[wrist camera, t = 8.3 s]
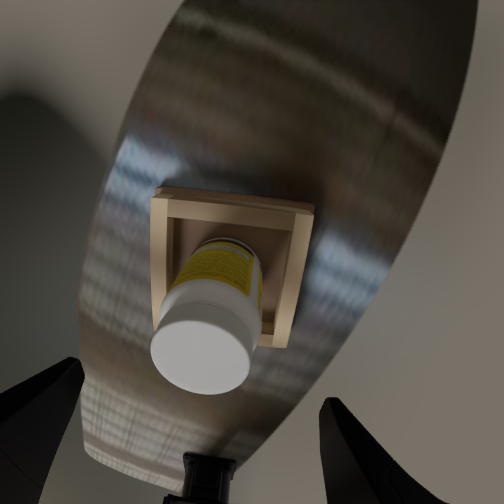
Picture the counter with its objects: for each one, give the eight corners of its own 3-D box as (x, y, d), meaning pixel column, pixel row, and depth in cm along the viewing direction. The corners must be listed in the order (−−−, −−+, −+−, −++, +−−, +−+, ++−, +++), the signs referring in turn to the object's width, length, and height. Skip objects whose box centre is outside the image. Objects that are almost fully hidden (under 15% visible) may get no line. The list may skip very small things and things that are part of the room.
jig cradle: (287, 332, 21) (289, 351, 19) (159, 315, 20) (150, 333, 18) (312, 203, 17) (320, 211, 15) (159, 186, 17) (146, 191, 15)
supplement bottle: (174, 256, 18) (117, 334, 10) (238, 221, 17) (216, 287, 9) (214, 314, 19) (187, 409, 11) (276, 286, 18) (282, 382, 10)
